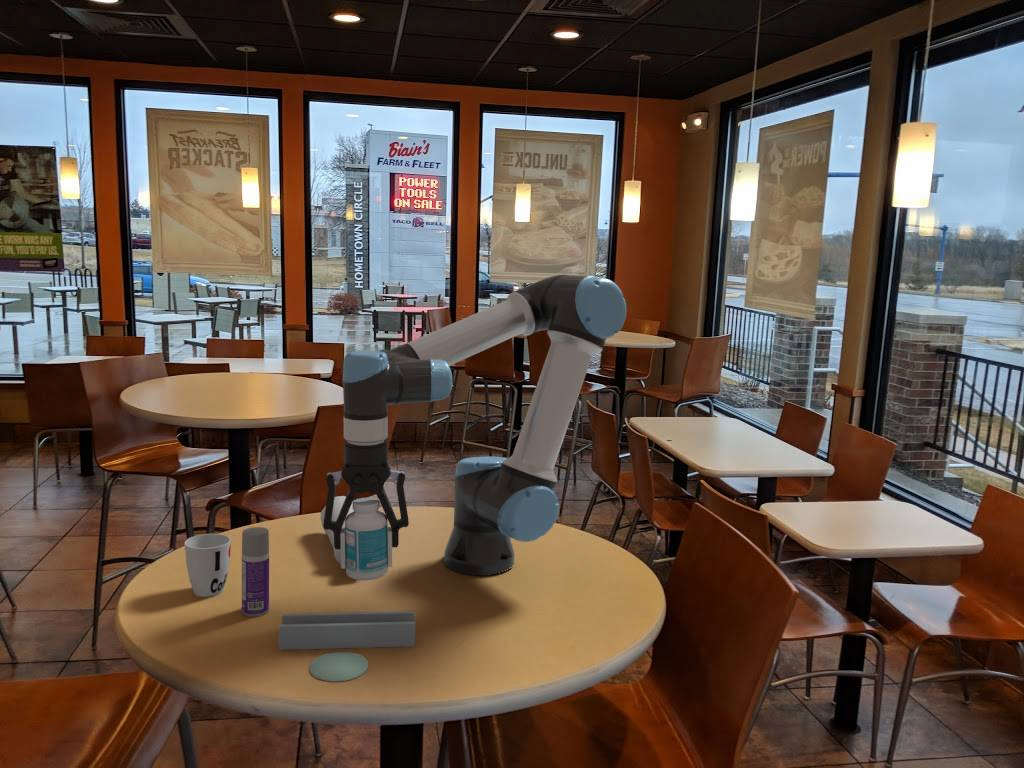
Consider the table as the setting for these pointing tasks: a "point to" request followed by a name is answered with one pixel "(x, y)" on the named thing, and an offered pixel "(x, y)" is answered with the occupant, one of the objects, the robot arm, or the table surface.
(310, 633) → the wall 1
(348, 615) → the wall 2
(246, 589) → the container
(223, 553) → the cup
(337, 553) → the bottle
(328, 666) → the spot
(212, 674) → the table surface
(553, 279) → the robot arm
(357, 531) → the pill bottle
